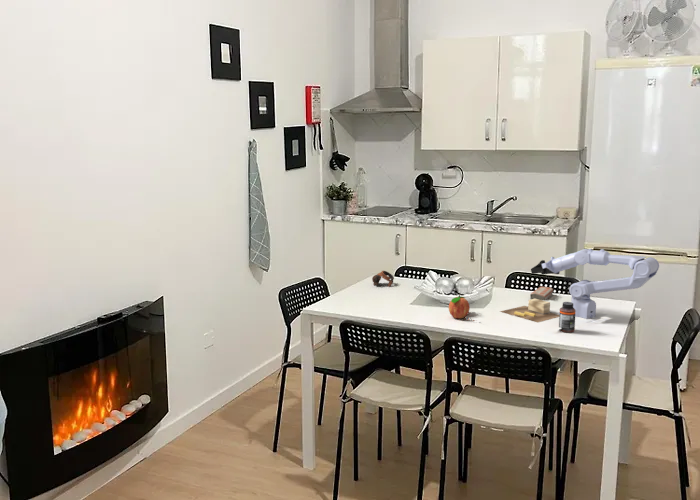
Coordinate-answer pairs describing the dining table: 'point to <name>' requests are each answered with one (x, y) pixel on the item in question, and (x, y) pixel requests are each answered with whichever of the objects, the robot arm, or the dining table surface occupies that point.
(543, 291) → the packaged product
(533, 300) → the block
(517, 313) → the crayon bit
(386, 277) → the brown arch piece
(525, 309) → the walnut board
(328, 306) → the dining table surface
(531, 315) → the crayon bit
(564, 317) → the supplement bottle
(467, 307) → the fruit
